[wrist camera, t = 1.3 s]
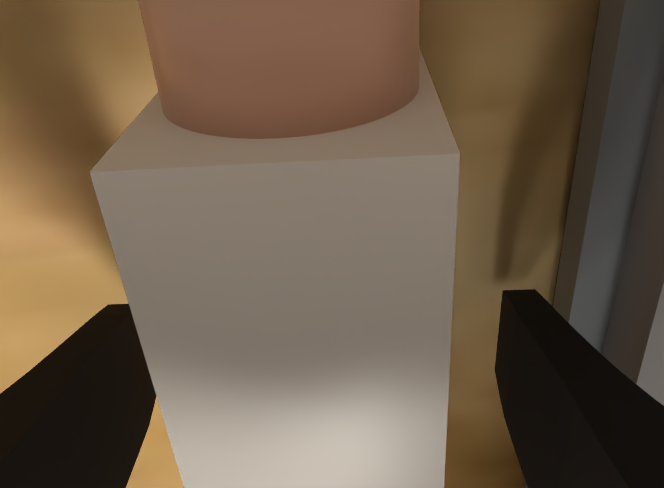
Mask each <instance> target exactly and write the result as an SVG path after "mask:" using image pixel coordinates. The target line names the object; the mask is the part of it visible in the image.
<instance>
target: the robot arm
mask: <svg viewBox="0 0 664 488" xmlns="http://www.w3.org/2000/svg"><path fill="white" fill-rule="evenodd" d="M495 373H496V379H497V384H498V389H499V394H500V399H501V404H502V409H503V413H504V418H505V421H506V424H507V427H508V430H509V433H510V436H511V439H512V442H513V445H514V448H515V451H516V454H517V457H518V460H519V463H520V466H521V469H522V472H523V475H524V478H525V481H526V484H527V487H528V488H664V406H663V405H662V404H661V403H659V402H658V401H657V400H655V399H654V398H653V397H652V396H650V395H649V394H648V393H647V392H645V391H644V390H643V389H642V388H640V387H639V386H638V385H637V384H636V383H634V382H633V381H632V380H631V379H629V378H628V377H627V376H626V375H625V374H623V373H622V372H621V371H620V370H619V369H618V368H616V367H615V366H614V365H613V364H612V363H611V362H610V361H608V360H607V359H606V358H605V357H604V356H603V355H602V354H601V353H600V352H599V351H598V350H596V349H595V348H594V347H593V346H592V345H591V344H590V343H589V342H588V341H587V340H586V339H585V338H584V337H583V336H582V335H581V334H579V333H578V332H577V331H576V330H575V329H574V328H573V327H572V326H571V325H570V324H569V323H568V322H567V321H566V320H565V319H564V318H563V317H562V316H561V315H560V314H559V313H558V312H557V311H556V310H555V309H554V308H553V307H552V306H551V305H550V304H549V303H548V302H547V301H546V300H545V299H544V298H543V297H542V296H541V295H540V294H539V293H538V292H537V291H536V290H535V289H531V290H503V293H502V303H501V313H500V323H499V333H498V343H497V353H496V363H495ZM155 399H156V393H155V389H154V386H153V383H152V379H151V376H150V373H149V369H148V366H147V363H146V359H145V356H144V353H143V349H142V346H141V343H140V339H139V336H138V333H137V329H136V326H135V323H134V319H133V316H132V313H131V309H130V306H129V304H113V305H107V306H106V307H105V308H103V309H102V310H101V311H99V312H98V313H97V314H96V315H95V316H93V317H92V318H91V319H90V320H89V321H87V322H86V323H85V324H84V325H83V326H82V327H80V328H79V329H78V330H77V331H76V332H75V333H74V334H72V335H71V336H70V337H69V338H68V339H67V340H65V341H64V342H63V343H62V344H61V345H60V346H58V347H57V348H56V349H55V350H54V351H53V352H51V353H50V354H49V355H48V356H47V357H45V358H44V359H43V360H42V361H41V362H40V363H38V364H37V365H36V366H35V367H34V368H32V369H31V370H30V371H29V372H28V373H26V374H25V375H24V376H23V377H21V378H20V379H19V380H17V381H16V382H15V383H14V384H12V385H11V386H10V387H8V388H7V389H6V390H5V391H3V392H2V393H1V394H0V488H126V485H127V483H128V480H129V477H130V475H131V472H132V470H133V467H134V464H135V462H136V459H137V456H138V454H139V451H140V448H141V446H142V443H143V440H144V438H145V435H146V432H147V430H148V427H149V424H150V420H151V416H152V412H153V408H154V403H155Z"/></svg>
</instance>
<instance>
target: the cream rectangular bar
mask: <svg viewBox="0 0 664 488" xmlns="http://www.w3.org/2000/svg"><path fill="white" fill-rule="evenodd" d="M139 5H140V9H141V14H142V19H143V23H144V28H145V32H146V37H147V41H148V46H149V51H150V55H151V60H152V64H153V69H154V73H155V78H156V83H157V87H158V93H157V94H156V95H155V96H154V97H153V99H152V100H151V101H150V102H149V103H148V104H147V106H146V107H145V108H144V109H143V110H142V111H141V113H140V114H139V115H138V116H137V117H136V118H135V120H134V121H133V122H132V123H131V124H130V125H129V126H128V128H127V129H126V130H125V131H124V132H123V133H122V135H121V136H120V137H119V138H118V139H117V140H116V142H115V143H114V144H113V145H112V146H111V147H110V149H109V150H108V151H107V152H106V153H105V154H104V156H103V157H102V158H101V159H100V160H99V161H98V163H97V164H96V165H95V166H94V167H93V168H92V169H91V171H90V172H89V173H90V176H91V179H92V183H93V186H94V189H95V193H96V196H97V199H98V203H99V206H100V209H101V213H102V216H103V219H104V223H105V226H106V229H107V233H108V236H109V239H110V243H111V246H112V249H113V253H114V256H115V259H116V263H117V266H118V269H119V273H120V276H121V279H122V283H123V286H124V289H125V293H126V296H127V299H128V303H129V306H130V309H131V313H132V316H133V319H134V323H135V326H136V329H137V333H138V336H139V339H140V343H141V346H142V349H143V353H144V356H145V359H146V363H147V366H148V369H149V373H150V376H151V379H152V383H153V386H154V389H155V393H156V396H157V399H158V403H159V406H160V409H161V413H162V416H163V419H164V423H165V426H166V429H167V433H168V436H169V439H170V443H171V446H172V449H173V453H174V456H175V459H176V463H177V466H178V469H179V473H180V476H181V479H182V483H183V486H184V488H444V478H445V457H446V436H447V415H448V395H449V374H450V353H451V332H452V311H453V291H454V270H455V249H456V228H457V208H458V187H459V166H460V152H459V149H458V147H457V144H456V142H455V139H454V136H453V134H452V131H451V129H450V126H449V123H448V121H447V118H446V116H445V113H444V110H443V108H442V105H441V102H440V100H439V97H438V95H437V92H436V89H435V87H434V84H433V82H432V79H431V76H430V74H429V71H428V69H427V66H426V63H425V61H424V58H423V56H422V53H421V50H420V48H419V30H420V0H139Z"/></svg>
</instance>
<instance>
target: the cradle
mask: <svg viewBox="0 0 664 488" xmlns="http://www.w3.org/2000/svg"><path fill="white" fill-rule="evenodd" d="M553 308H554V309H555V310H556V311H557V312H558V313H559V314H560V315H561V316H562V317H563V318H564V319H565V320H566V321H567V322H568V323H569V324H570V325H571V326H572V327H573V328H574V329H575V330H576V331H577V332H578V333H579V334H581V335H582V336H583V337H584V338H585V339H586V340H587V341H588V342H589V343H590V344H591V345H592V346H593V347H594V348H595V349H596V350H598V351H599V352H600V353H601V354H602V355H603V356H604V357H605V358H606V359H607V360H608V361H610V362H611V363H612V364H613V365H614V366H615V367H616V368H618V369H619V370H620V371H621V372H622V373H623V374H625V375H626V376H627V377H628V378H629V379H631V380H632V381H633V382H634V383H636V384H637V385H638V386H639V387H640V388H642V389H643V390H644V391H645V392H647V393H648V394H649V395H650V396H652V397H653V398H654V399H655V400H657V401H658V402H659V403H661V404H662V405H663V406H664V0H600V6H599V13H598V19H597V25H596V32H595V38H594V45H593V51H592V57H591V64H590V70H589V77H588V83H587V90H586V96H585V102H584V109H583V115H582V122H581V128H580V134H579V141H578V147H577V154H576V160H575V167H574V173H573V179H572V186H571V192H570V199H569V205H568V211H567V218H566V224H565V231H564V237H563V244H562V250H561V256H560V263H559V269H558V276H557V282H556V289H555V295H554V301H553ZM524 488H528V487H527V484H526V481H525V487H524Z"/></svg>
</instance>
